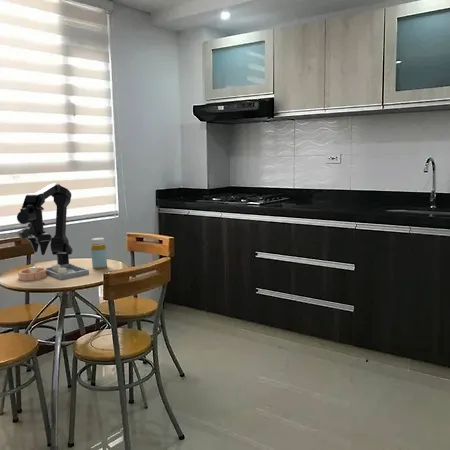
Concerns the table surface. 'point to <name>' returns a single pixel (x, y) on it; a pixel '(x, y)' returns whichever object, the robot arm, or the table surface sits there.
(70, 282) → the table surface
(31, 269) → the pebble
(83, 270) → the tray
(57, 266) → the pebble
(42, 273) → the bowl
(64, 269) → the pebble
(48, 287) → the table surface
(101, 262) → the bottle
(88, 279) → the table surface
